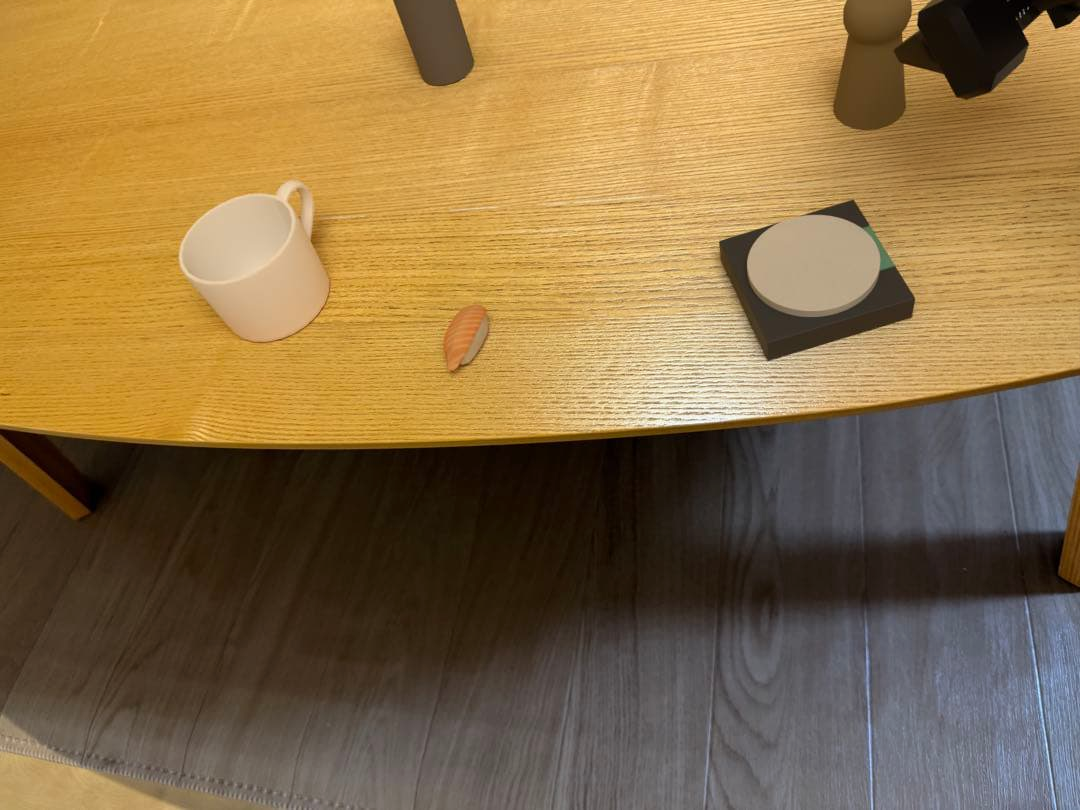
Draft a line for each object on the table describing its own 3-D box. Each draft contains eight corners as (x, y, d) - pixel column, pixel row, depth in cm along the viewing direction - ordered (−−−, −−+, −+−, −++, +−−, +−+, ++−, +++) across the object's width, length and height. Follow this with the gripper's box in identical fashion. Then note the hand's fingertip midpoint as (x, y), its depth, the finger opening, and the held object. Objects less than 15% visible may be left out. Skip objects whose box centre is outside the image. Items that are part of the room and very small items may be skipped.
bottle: (412, 84, 99) (360, -51, 87) (435, 49, 102) (388, -87, 90) (460, 88, 97) (414, -50, 85) (483, 52, 99) (441, -87, 87)
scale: (852, 218, 76) (854, 191, 73) (912, 317, 69) (916, 290, 67) (720, 259, 76) (718, 233, 74) (767, 361, 70) (767, 336, 67)
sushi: (498, 319, 78) (489, 295, 75) (469, 380, 75) (458, 358, 72) (470, 314, 79) (460, 290, 76) (440, 375, 76) (428, 353, 73)
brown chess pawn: (910, 85, 83) (924, -31, 74) (900, 131, 80) (914, 16, 71) (839, 82, 85) (845, -31, 76) (827, 127, 82) (832, 15, 73)
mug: (283, 361, 80) (239, 300, 74) (201, 325, 85) (152, 264, 78) (376, 252, 85) (342, 186, 79) (293, 223, 90) (255, 158, 84)
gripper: (1189, -296, 52) (965, -152, 66) (986, -127, 47) (792, -12, 61) (1266, -111, 55) (1035, -12, 69) (1082, 66, 50) (876, 132, 64)
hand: (938, 19), depth 66 cm, fingers open, 9 cm apart
